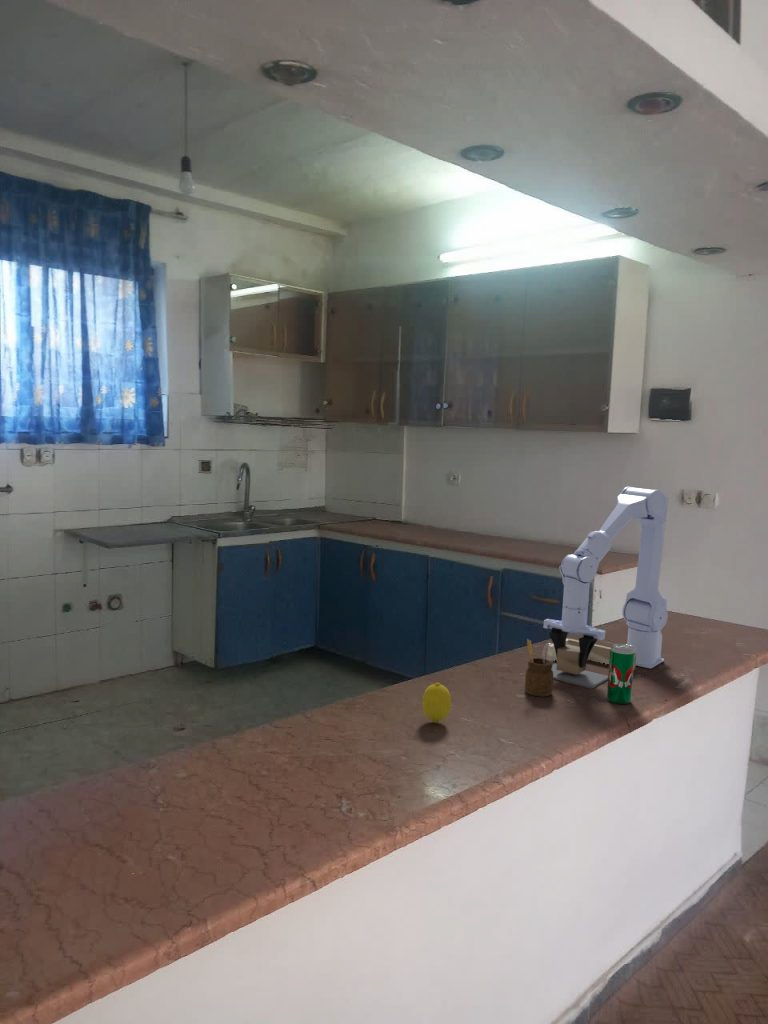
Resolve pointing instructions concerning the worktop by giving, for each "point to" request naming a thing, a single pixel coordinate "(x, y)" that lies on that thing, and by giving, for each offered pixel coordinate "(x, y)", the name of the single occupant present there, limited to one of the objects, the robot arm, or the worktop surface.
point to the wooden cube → (569, 659)
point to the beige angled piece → (596, 654)
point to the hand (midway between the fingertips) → (571, 663)
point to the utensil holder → (539, 675)
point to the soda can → (620, 673)
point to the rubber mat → (579, 677)
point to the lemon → (436, 702)
